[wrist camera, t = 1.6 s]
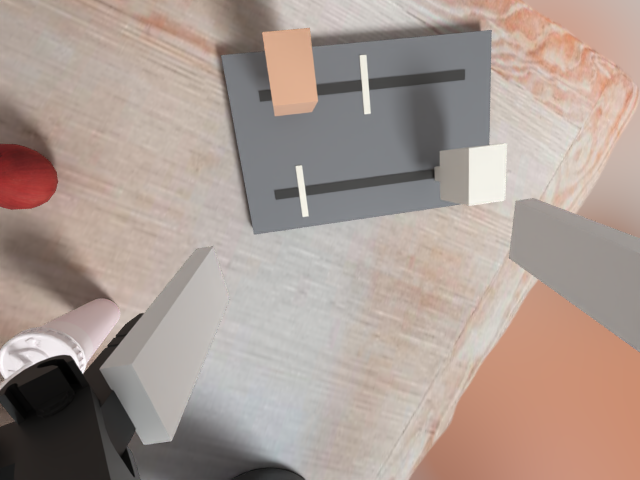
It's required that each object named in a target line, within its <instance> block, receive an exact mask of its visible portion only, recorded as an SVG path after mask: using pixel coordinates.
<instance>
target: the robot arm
mask: <svg viewBox="0 0 640 480" xmlns="http://www.w3.org/2000/svg"><path fill="white" fill-rule="evenodd" d="M509 259H511V260H512V261H514V262H515V263H516V264H518V265H519V266H521V267H522V268H523V269H525V270H526V271H528V272H529V273H530V274H532V275H533V276H534V277H536V278H537V279H539V280H540V281H541V282H543V283H544V284H546V285H547V286H548V287H550V288H551V289H553V290H554V291H555V292H557V293H558V294H559V295H561V296H562V297H564V298H565V299H566V300H568V301H569V302H571V303H572V304H573V305H575V306H576V307H578V308H579V309H581V310H582V311H583V312H585V313H586V314H587V315H589V316H590V317H591V318H593V319H594V320H596V321H597V322H598V323H600V324H601V325H603V326H604V327H605V328H607V329H608V330H610V331H611V332H612V333H614V334H615V335H616V336H618V337H619V338H621V339H622V340H623V341H625V342H626V343H628V344H629V345H630V346H632V347H633V348H635V349H636V350H637V351H639V352H640V238H638V237H635V236H632V235H630V234H627V233H624V232H622V231H619V230H616V229H614V228H611V227H608V226H605V225H603V224H600V223H598V222H595V221H592V220H590V219H587V218H584V217H582V216H579V215H577V214H574V213H571V212H569V211H566V210H563V209H561V208H558V207H556V206H553V205H550V204H548V203H545V202H542V201H540V200H537V199H534V198H532V199H525V200H519V201H516V203H515V211H514V219H513V228H512V236H511V244H510V253H509ZM229 300H230V297H229V294H228V291H227V287H226V284H225V281H224V278H223V275H222V272H221V268H220V265H219V262H218V259H217V256H216V252H215V249H214V246H211V247H205V248H198V249H196V250H195V251H194V252H193V253H192V255H191V256H190V257H189V258H188V260H187V261H186V262H185V263H184V265H183V266H182V267H181V268H180V270H179V271H178V272H177V273H176V274H175V276H174V277H173V278H172V279H171V281H170V282H169V283H168V284H167V286H166V287H165V288H164V289H163V291H162V292H161V293H160V294H159V296H158V297H157V298H156V299H155V300H154V302H153V303H152V304H151V305H150V307H149V308H148V309H147V310H146V312H145V313H141V314H139V315H137V316H136V317H135V318H133V319H132V320H131V321H129V322H128V323H127V324H125V326H124V327H123V328H122V329H121V330H120V331H119V333H118V334H117V335H116V338H113V340H112V341H111V342H110V343H109V344H108V345H107V346H108V347H107V348H105V349H104V350H103V351H102V352H101V354H100V355H99V356H98V357H97V358H96V360H95V361H94V362H93V363H92V364H91V365H90V367H89V368H88V369H87V370H86V371H85V372H84V374H82V372H81V370H80V369H79V367H78V366H77V364H76V362H75V361H74V359H73V358H72V357H71V356H70V355H59V356H54V357H50V358H47V359H45V360H42V361H40V362H37V363H36V364H34V365H32V366H30V367H28V368H26V369H25V370H23V371H21V372H20V373H19V374H17V375H16V376H15V377H13V378H12V379H10V380H9V381H8V382H7V383H6V384H5V385H4V386H3V387H2V388H1V390H0V403H1V404H2V406H3V407H4V408H5V409H6V410H7V412H8V413H9V414H10V415H11V417H12V418H13V419H14V420H15V422H12V423H10V424H7V425H4V426H2V427H0V480H140V477H139V474H138V471H137V467H136V464H135V461H134V458H133V455H132V452H131V451H130V449H129V448H128V446H127V445H128V443H129V441H130V440H131V438H132V436H133V434H134V432H135V431H136V432H137V434H138V436H139V438H140V439H141V441H142V443H143V444H144V445H148V444H155V443H162V442H169V441H172V440H173V437H174V435H175V432H176V430H177V427H178V425H179V423H180V420H181V418H182V415H183V413H184V410H185V408H186V405H187V403H188V401H189V398H190V396H191V393H192V391H193V388H194V386H195V383H196V381H197V379H198V376H199V374H200V371H201V369H202V366H203V364H204V361H205V359H206V357H207V354H208V352H209V349H210V347H211V344H212V342H213V339H214V337H215V335H216V332H217V330H218V327H219V325H220V322H221V320H222V317H223V315H224V313H225V310H226V308H227V305H228V303H229ZM233 480H304V479H303V478H301V477H300V476H298V475H296V474H294V473H292V472H290V471H286V470H282V469H274V468H266V469H258V470H253V471H250V472H247V473H244V474H242V475H239V476H238V477H236V478H234V479H233Z"/></svg>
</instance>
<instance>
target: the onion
mask: <svg viewBox="0 0 640 480" xmlns="http://www.w3.org/2000/svg"><path fill="white" fill-rule="evenodd" d="M57 184H58V179H57V172H56V170H55V169H54V167H53V165H52V164H51V162H50V161H49V160H48V159H46V158H45V157H44V156H42V155H41V154H40V153H38V152H37V151H35V150H32V149H29V148H27V147H24V146H20V145H16V144H0V207H3V208H7V209H11V210H13V209H31V208H34V207H37V206H40V205H42V204H44V203H46V202H47V201H48V200H49V199H50V198H51V196H52V195H53V194H54V193H55V191H56V188H57Z"/></svg>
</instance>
